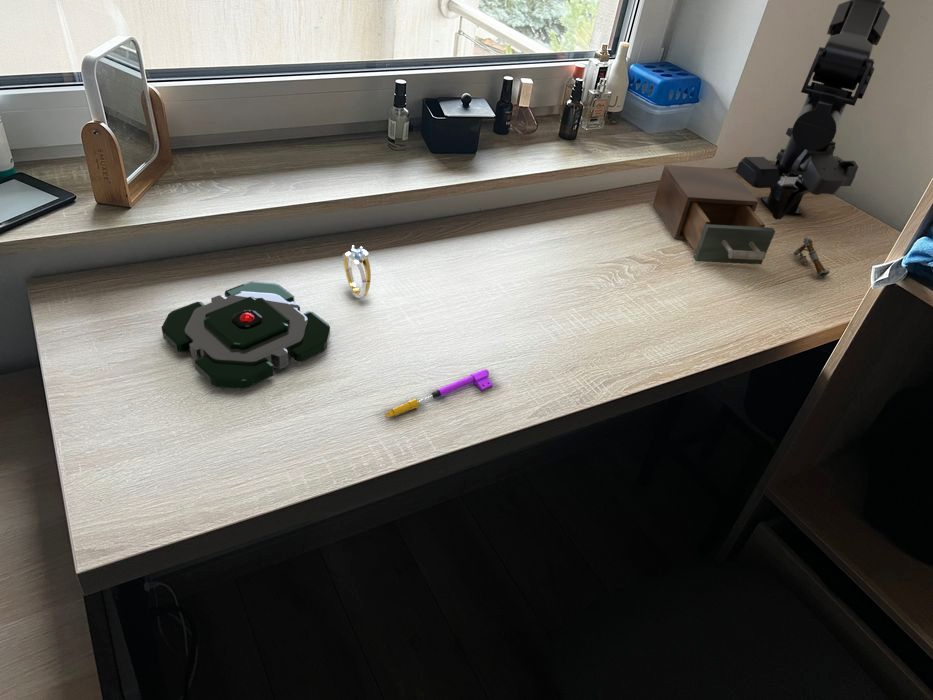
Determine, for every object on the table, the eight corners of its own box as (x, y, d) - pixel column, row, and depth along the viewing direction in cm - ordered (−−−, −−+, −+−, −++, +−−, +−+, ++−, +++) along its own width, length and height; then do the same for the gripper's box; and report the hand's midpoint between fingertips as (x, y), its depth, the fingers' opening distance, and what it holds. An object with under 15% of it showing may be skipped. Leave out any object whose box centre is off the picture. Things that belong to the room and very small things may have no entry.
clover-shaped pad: (267, 289, 107) (265, 262, 105) (343, 349, 98) (344, 322, 96) (152, 333, 96) (146, 306, 94) (226, 406, 88) (222, 377, 85)
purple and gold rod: (484, 371, 98) (383, 414, 89) (486, 366, 97) (384, 409, 88) (495, 386, 96) (394, 431, 88) (497, 381, 96) (396, 425, 87)
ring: (374, 306, 107) (376, 260, 102) (353, 309, 106) (354, 263, 101) (358, 281, 112) (359, 235, 107) (338, 284, 110) (338, 238, 106)
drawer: (773, 279, 125) (788, 245, 121) (705, 276, 123) (718, 242, 119) (734, 229, 138) (746, 197, 134) (673, 226, 136) (683, 193, 132)
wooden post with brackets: (796, 248, 135) (812, 234, 131) (814, 284, 132) (831, 271, 128) (789, 249, 134) (804, 234, 130) (806, 285, 131) (823, 271, 127)
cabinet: (742, 242, 136) (758, 201, 131) (674, 239, 134) (688, 197, 129) (716, 208, 147) (730, 169, 142) (652, 204, 145) (664, 164, 140)
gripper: (793, 151, 103) (754, 245, 113) (898, 151, 108) (852, 241, 118) (751, 120, 112) (718, 210, 121) (851, 121, 116) (811, 208, 126)
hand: (776, 218), depth 122 cm, fingers closed
